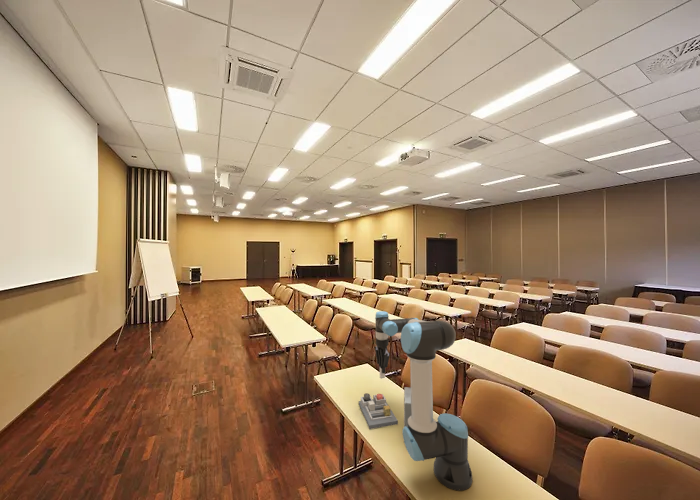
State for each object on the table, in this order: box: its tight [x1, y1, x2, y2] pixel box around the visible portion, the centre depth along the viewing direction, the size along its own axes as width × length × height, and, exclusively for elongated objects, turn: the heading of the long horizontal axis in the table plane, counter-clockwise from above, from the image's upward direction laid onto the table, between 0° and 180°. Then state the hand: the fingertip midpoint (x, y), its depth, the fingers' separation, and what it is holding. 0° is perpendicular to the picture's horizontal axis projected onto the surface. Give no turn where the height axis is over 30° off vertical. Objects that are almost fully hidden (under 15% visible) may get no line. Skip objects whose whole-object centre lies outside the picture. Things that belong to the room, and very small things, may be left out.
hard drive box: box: [403, 386, 411, 428], centre depth 135 cm, size 16×8×20 cm, turn 168°
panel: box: [358, 393, 399, 430], centre depth 151 cm, size 22×16×5 cm
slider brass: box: [383, 406, 391, 417], centre depth 147 cm, size 3×3×4 cm
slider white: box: [368, 401, 375, 412], centre depth 151 cm, size 3×3×4 cm
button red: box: [376, 393, 384, 400], centre depth 158 cm, size 4×4×3 cm
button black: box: [363, 393, 371, 402], centre depth 156 cm, size 4×4×3 cm
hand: (382, 377), depth 156 cm, fingers closed
